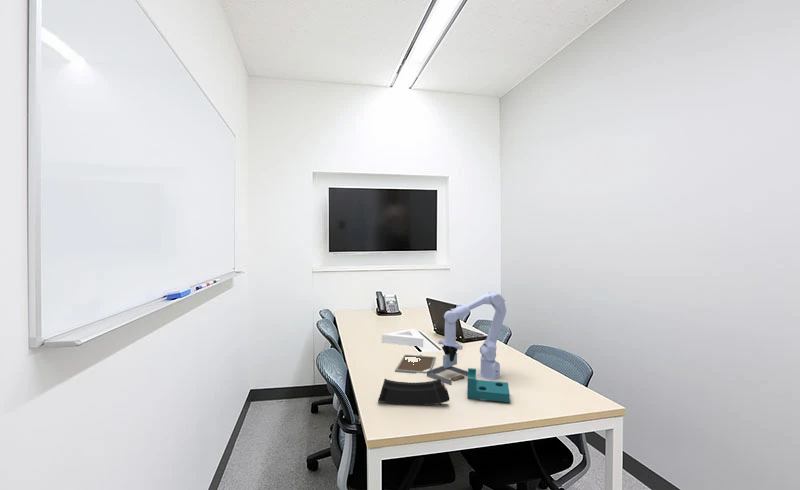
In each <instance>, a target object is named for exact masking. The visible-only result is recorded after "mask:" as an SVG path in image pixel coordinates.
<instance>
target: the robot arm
mask: <svg viewBox="0 0 800 490" xmlns="http://www.w3.org/2000/svg"><path fill="white" fill-rule="evenodd" d="M505 300H506V299H505V298H504V297H503V296H502V294H500V293H498V292H495V291H494V290H493V291H489V292H486V293H484V294H483V295H481V296H480V297H478V298H476V299H474V300H472V301H471V302H469V303H468V304H466V303H460V304H458V306H457V307H455V308H451V309H450V310H447V311H445V313H444V314H443V318H444V339H438V341H437V342H438V345H442V347H441V349H442V351H443V352H444V353H443V354H444V355H446V354H449V353H450V361H451V362H452V361H454V357H455V354H456V353H458V350H459V351H461V350H463V345H462V344H460V343H457V341H456V339H457V337H456V335H457V332H456V331H457V325H456V322H457V321H458V320H460V319H461V318H463V317H466V316H468V315H469V314H470V311H472V310H474V309H476V308H478V307H481V306H482V305H489V306H490V305H491V306H492V307H493V309H494V311H495V312H494V315H493V317H492V321H491V324H490V327H489V330H488V333H487V336H486V339H485V340H484V341H483V343H482V345H481V346H480V347H479V353H480V370H479V371H480V373H478V374H476V377H480V378H484V379H486V380H488V381H494V380H496V379H498V378H500V377H501V365H500V363H499V362H498V361H496V357H497V342H498V338H499V335H500V332H501V328H502V327H503V323H504V320H505V317H506V314H507V308H506V303H505V302H506V301H505Z"/></svg>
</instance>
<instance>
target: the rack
mask: <svg viewBox="0 0 800 490" xmlns="http://www.w3.org/2000/svg"><path fill="white" fill-rule="evenodd" d="M447 370H449V371H451V372H455V373H457V374H460V375H463V376H466V377H468V370H465V369H462V368H458V367H456V366H454V365H453V366H451V367H448V368H444V367H443V365H441V366H438V367H434V368H432V370H430V369H428V370H426V372H427V374H426V377H429V378H431V379H433V380H439V379H440V380H441V382H442V383H444V384H445V385H449V386H452V383H453V381H452V380H451V379H449V378H446V377H443V376H440V375H438V374H439V373H443V372H445V371H447Z"/></svg>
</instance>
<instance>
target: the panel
mask: <svg viewBox="0 0 800 490" xmlns="http://www.w3.org/2000/svg"><path fill="white" fill-rule="evenodd" d="M457 364H458V352H456V354H455V357H454V361H452V362H451V361H450V353H449V354H446V355H445V354H444V355H443V356H442V366H443V367H444V368H448V367H451V366H453V367H454V366H457Z"/></svg>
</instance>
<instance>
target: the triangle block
mask: <svg viewBox="0 0 800 490" xmlns="http://www.w3.org/2000/svg"><path fill="white" fill-rule="evenodd" d="M381 343H382V344H389V345H396V344H397V345H398V346H405V345H407V346H406V347H414V346H419V347H418V348H424V338H423V337H422V336H421V335H420V334H419V333H418V331H417V330H416V329H415V328H414V327H413V328H408V329H403V330H398V331H393V332H388V333H382V334H381Z"/></svg>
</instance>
